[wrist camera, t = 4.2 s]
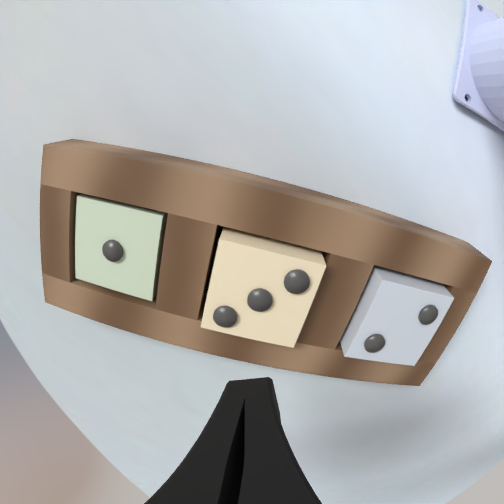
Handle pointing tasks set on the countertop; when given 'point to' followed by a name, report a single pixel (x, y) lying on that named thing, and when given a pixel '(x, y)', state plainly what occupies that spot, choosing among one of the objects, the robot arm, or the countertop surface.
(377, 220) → the frame
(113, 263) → the button one
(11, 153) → the countertop surface
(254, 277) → the button three
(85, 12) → the countertop surface
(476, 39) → the robot arm
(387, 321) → the button two
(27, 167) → the countertop surface
